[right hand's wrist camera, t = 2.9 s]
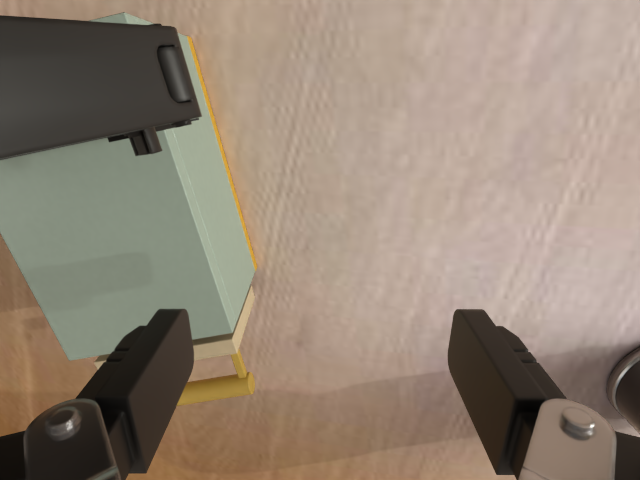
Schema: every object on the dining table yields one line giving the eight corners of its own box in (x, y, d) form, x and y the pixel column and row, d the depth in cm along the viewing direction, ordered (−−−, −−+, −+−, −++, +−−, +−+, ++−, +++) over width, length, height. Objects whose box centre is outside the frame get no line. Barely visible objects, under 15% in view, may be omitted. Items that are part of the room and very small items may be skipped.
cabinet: (257, 266, 33) (233, 333, 24) (135, 289, 34) (68, 361, 25) (191, 37, 26) (124, 11, 18) (42, 71, 27) (-93, 63, 18)
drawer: (272, 355, 35) (260, 421, 28) (170, 372, 36) (133, 441, 29) (194, 95, 27) (150, 98, 20) (64, 124, 28) (-23, 136, 21)
